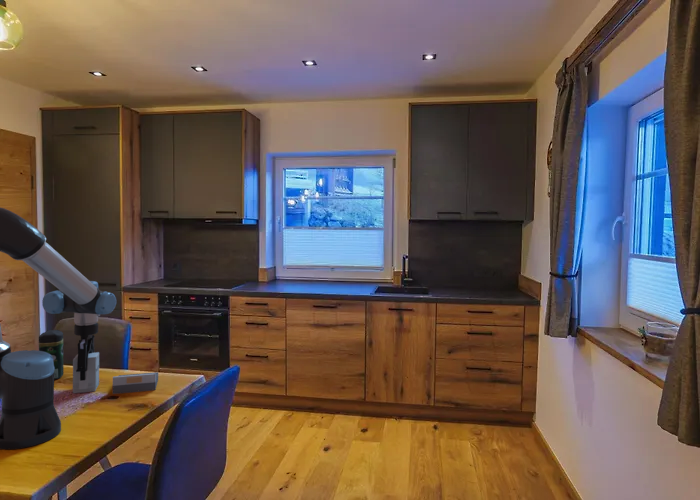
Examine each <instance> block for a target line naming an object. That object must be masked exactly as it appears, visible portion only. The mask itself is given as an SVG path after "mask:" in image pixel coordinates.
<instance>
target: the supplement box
mask: <svg viewBox="0 0 700 500" xmlns="http://www.w3.org/2000/svg"><path fill="white" fill-rule="evenodd" d="M77 362H78V353H77V354H76V355H75V357H74V358H73V359H72V394H80V393H81V394H82V393H90V392H92V393H93V392H96V391H97V388H98V387H99V385H100V352H99V351H97V352H94V353H89V354H88V365H87V370H88V389H79V372H76V370H77ZM81 368H83V367H81Z"/></svg>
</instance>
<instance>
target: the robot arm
mask: <svg viewBox="0 0 700 500" xmlns="http://www.w3.org/2000/svg"><path fill="white" fill-rule="evenodd" d="M46 241H47V237H46V236H45V235H44V234H43V232H42V231H40V230H39V229H38V228H37V227H36V226H34V225H33V224H32V223H30V222H29V221H28V220H26V219H25V218H23V217H22V216H20V215H18V214H17V213H15V212H13V211H11V210H10V209H7V208H4V207H1V206H0V252H1V253H4V254H6V255H8V256H9V257H10V258H11V259H13V260H15V261H22V262H24V264H26V265H27V266H28V267H30V268H31V269H32V270H33V271H35V272H36V273H38V274H39V275H40V276H41V277H43V278H44V279H45V280H47V281H48V282H49V283H50V284H51V285H53V286H54V287H55V288H57V289H58V290H57V289H56V290H53V291H50V292H47V293H46V294H45V295H43V297H42V302H41V303H42V308H43V310H44V311H45V312H46V313H48V314H51V315H54V314H58V315H59V314H61V313H73V322H74V324H75V325H74V326H73V331H74V334H73V335H75V336H80V339H79V340H78V343H77V354H78V362H77V370H76V372H79V389H88V370H87V365H88V354H89V353H95V335H96V334H98V333H99V323H98V322H99V317H101V315H108V314H112V312H113V311H114V310H115V308H116V305H117V297H116V296H115V294H114V293H112V292H108V291H102V290H101V289H100V288H99V283H98V282H97V281H94V280H90V279H88V278H87V277H86V276H84V274H82V273H81V271H79V270H78V269H77V268H76V267H75V266H73V264H71V263H70V262H69V261H68V260H67V259H65V257H64V256H63V255H61V254H60V253H59V252H58V251H57V250H55V249H54V248H53V247H52V246H51V245H50V244H49V243H47V242H46ZM81 367H83V368H81ZM54 369H55V367H54V362H53V357H52V356H51V355H50V354H49V353H47V352H43V351H39V349H38V350H36V349H31V350H27V349H25V350H24V349H23V350H16V351H12V349H11V344H10V343H9V342H7V341H5V340H3V332H2V327H1V324H0V399H1V415H0V450H17V449H19V450H20V449H24V448H30V447H34V446H37V445H41V444H43V443H45V442H48V441H50V440H51V439H52V440H53V439H54V438H56V436H58V435H59V434H60V433H61V430H62V421H61V419H60V417H59V414H58V412H57V410H56V407H55V404H54V402H55V401H54V398H55V396H54V395H55V379H54Z"/></svg>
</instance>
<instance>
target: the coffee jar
mask: <svg viewBox="0 0 700 500" xmlns="http://www.w3.org/2000/svg"><path fill="white" fill-rule="evenodd" d="M38 351H43V352H47V353H49V354H50V355H51V356H52V357H53V362H54V367H55V369H54V380H57V379H61V378H62V377H63V375H64V332H63V331H61V330H59V329H51V330H50V329H49V330H46V331H45V332H42V333H40V335H39V336H38Z"/></svg>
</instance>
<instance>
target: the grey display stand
mask: <svg viewBox="0 0 700 500" xmlns="http://www.w3.org/2000/svg"><path fill="white" fill-rule="evenodd" d="M158 382H159V372H158V371H155V372H154V371H153V372H145V373H131V374H118V375H117V376H112V395H118V394H128V393H138V392H139V393H140V392H149V391H156V390H157V385H158Z"/></svg>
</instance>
